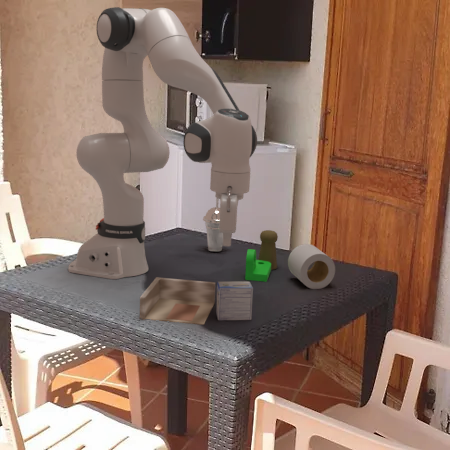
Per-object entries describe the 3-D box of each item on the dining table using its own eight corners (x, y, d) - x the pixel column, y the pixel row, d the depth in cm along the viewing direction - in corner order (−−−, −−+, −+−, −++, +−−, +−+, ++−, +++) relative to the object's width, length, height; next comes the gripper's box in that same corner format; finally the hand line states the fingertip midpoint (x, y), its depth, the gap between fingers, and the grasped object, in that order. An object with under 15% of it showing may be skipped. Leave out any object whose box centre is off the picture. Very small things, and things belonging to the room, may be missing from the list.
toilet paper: (286, 278, 189) (289, 244, 187) (319, 277, 191) (322, 243, 189) (299, 290, 180) (301, 254, 177) (333, 288, 182) (336, 253, 180)
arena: (139, 321, 154) (140, 297, 152) (155, 299, 168) (156, 277, 167) (203, 327, 152) (204, 303, 150) (214, 304, 166) (215, 282, 165)
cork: (255, 268, 196) (257, 232, 194) (258, 262, 202) (260, 227, 200) (276, 270, 195) (278, 234, 193) (278, 264, 201) (280, 229, 199)
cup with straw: (200, 252, 211) (203, 190, 206) (202, 244, 219) (205, 185, 215) (227, 253, 210) (230, 191, 206) (228, 246, 219) (231, 186, 214)
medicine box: (248, 315, 160) (250, 280, 158) (251, 322, 156) (253, 287, 154) (215, 315, 159) (217, 281, 157) (218, 322, 155) (219, 287, 153)
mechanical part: (266, 281, 185) (267, 254, 183) (245, 279, 186) (246, 252, 184) (272, 267, 196) (273, 241, 194) (252, 265, 197) (253, 240, 195)
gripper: (244, 192, 140) (240, 255, 143) (243, 175, 159) (240, 231, 163) (214, 191, 140) (211, 254, 143) (217, 174, 159) (214, 230, 163)
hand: (227, 242), depth 153 cm, fingers open, 4 cm apart
